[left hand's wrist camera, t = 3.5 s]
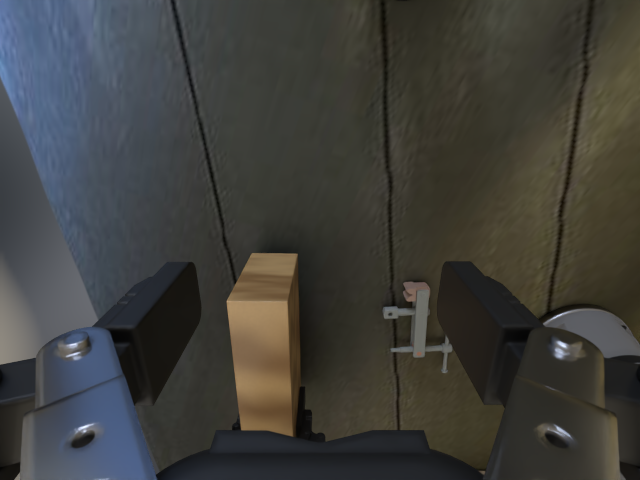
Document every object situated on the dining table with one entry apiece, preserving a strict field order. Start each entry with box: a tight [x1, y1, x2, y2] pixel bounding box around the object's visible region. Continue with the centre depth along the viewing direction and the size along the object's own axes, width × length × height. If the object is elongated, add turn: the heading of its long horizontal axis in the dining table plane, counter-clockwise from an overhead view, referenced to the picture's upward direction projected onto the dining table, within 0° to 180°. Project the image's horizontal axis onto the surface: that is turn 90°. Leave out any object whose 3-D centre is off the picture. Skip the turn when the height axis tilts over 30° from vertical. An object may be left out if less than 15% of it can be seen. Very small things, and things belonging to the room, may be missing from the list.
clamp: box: [383, 282, 452, 373], centre depth 49 cm, size 15×2×10 cm
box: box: [227, 253, 301, 437], centre depth 43 cm, size 24×6×12 cm, turn 0°
